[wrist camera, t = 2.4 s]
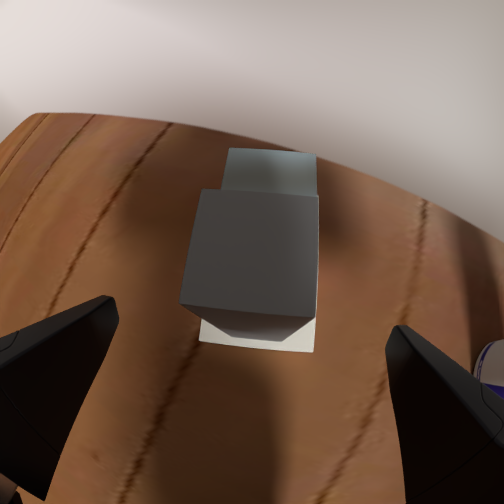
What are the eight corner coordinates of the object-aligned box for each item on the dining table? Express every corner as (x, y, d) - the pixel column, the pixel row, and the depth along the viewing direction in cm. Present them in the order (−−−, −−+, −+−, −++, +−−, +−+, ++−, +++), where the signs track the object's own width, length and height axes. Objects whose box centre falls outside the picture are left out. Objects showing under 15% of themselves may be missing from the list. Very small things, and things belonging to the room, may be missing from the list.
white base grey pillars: (310, 352, 17) (397, 341, 5) (202, 341, 17) (101, 310, 6) (316, 202, 20) (354, 65, 9) (225, 194, 21) (196, 56, 10)
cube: (303, 265, 18) (317, 231, 13) (226, 258, 18) (214, 223, 13) (305, 199, 19) (315, 154, 15) (236, 194, 20) (229, 147, 15)
